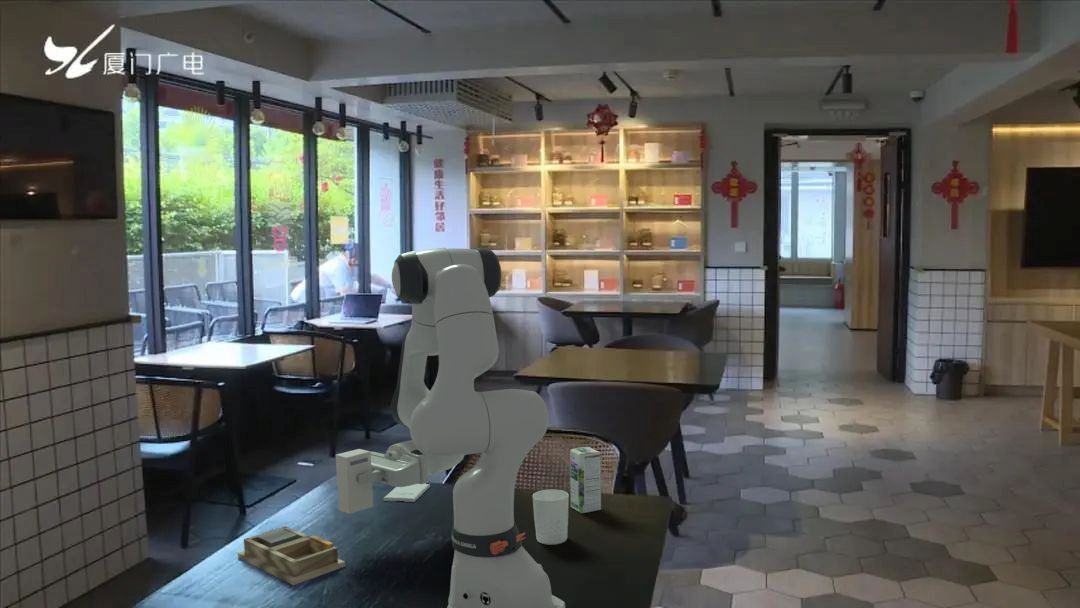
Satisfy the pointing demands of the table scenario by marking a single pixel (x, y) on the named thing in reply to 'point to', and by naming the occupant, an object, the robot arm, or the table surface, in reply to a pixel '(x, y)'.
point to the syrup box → (585, 479)
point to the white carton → (353, 481)
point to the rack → (291, 555)
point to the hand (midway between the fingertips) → (350, 476)
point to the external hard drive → (407, 493)
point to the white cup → (551, 516)
